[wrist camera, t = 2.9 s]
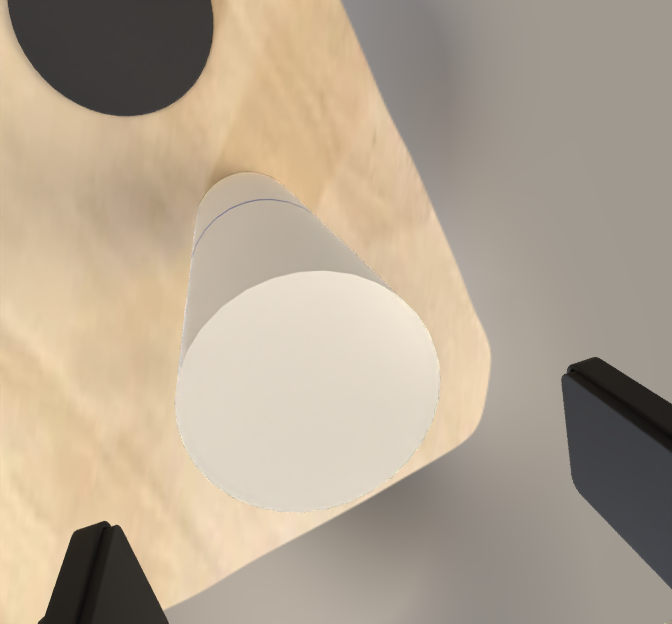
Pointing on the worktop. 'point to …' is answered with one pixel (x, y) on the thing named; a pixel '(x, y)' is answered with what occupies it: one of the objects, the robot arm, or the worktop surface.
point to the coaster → (116, 49)
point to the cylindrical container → (295, 357)
